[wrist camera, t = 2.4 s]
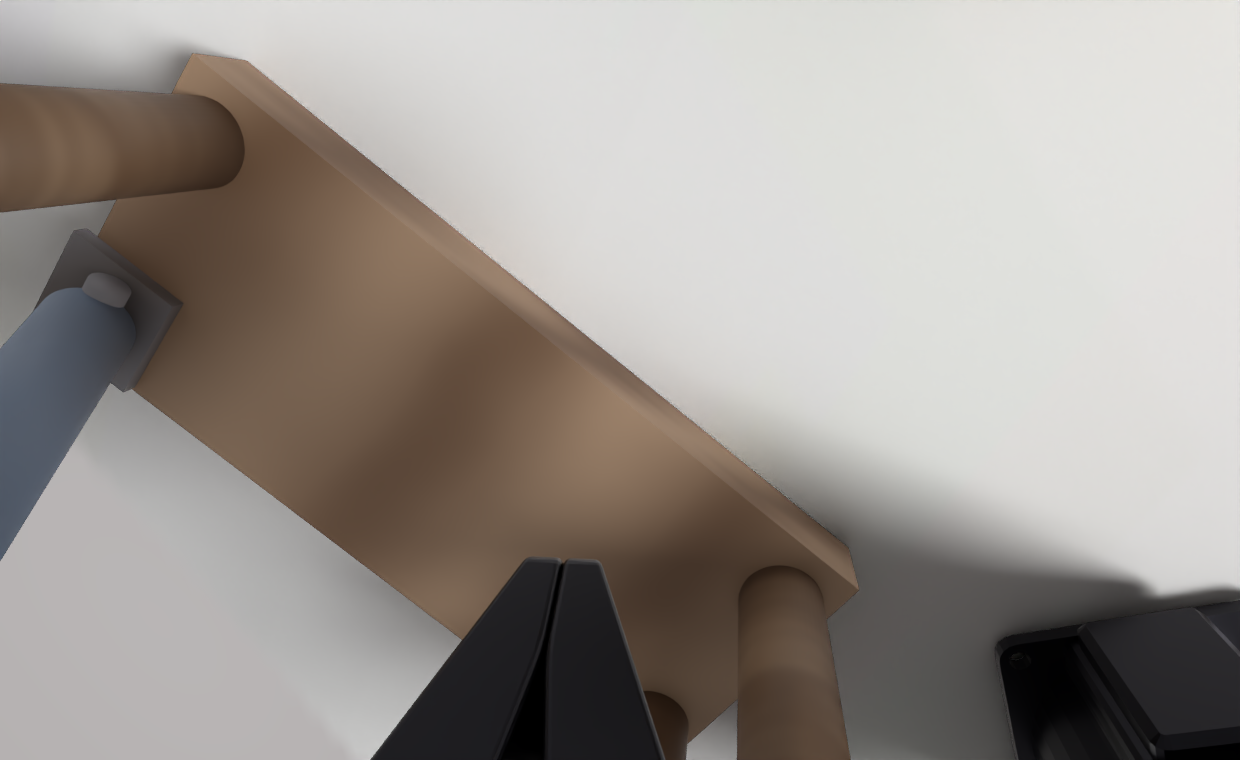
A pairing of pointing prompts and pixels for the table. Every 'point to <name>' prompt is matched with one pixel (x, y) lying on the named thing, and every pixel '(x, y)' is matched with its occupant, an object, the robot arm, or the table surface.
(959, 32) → the table surface
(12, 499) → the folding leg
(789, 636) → the stool
